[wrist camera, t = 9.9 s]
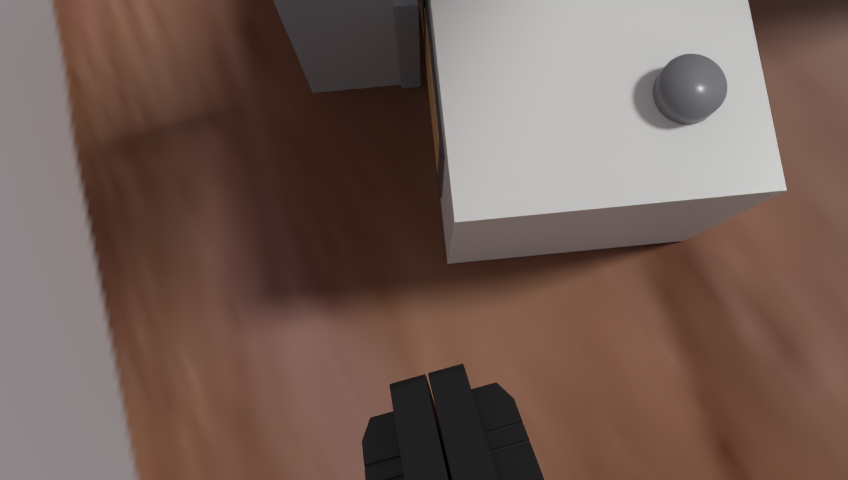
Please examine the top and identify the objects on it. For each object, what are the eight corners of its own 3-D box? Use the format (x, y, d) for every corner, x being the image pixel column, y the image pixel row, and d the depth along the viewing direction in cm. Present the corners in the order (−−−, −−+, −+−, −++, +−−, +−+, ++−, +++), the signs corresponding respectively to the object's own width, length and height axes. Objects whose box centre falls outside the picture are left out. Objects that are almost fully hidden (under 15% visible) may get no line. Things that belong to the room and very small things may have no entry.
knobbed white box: (636, -31, 37) (721, -192, 26) (682, 240, 34) (798, 184, 23) (415, -10, 36) (410, -164, 26) (444, 264, 34) (451, 218, 23)
